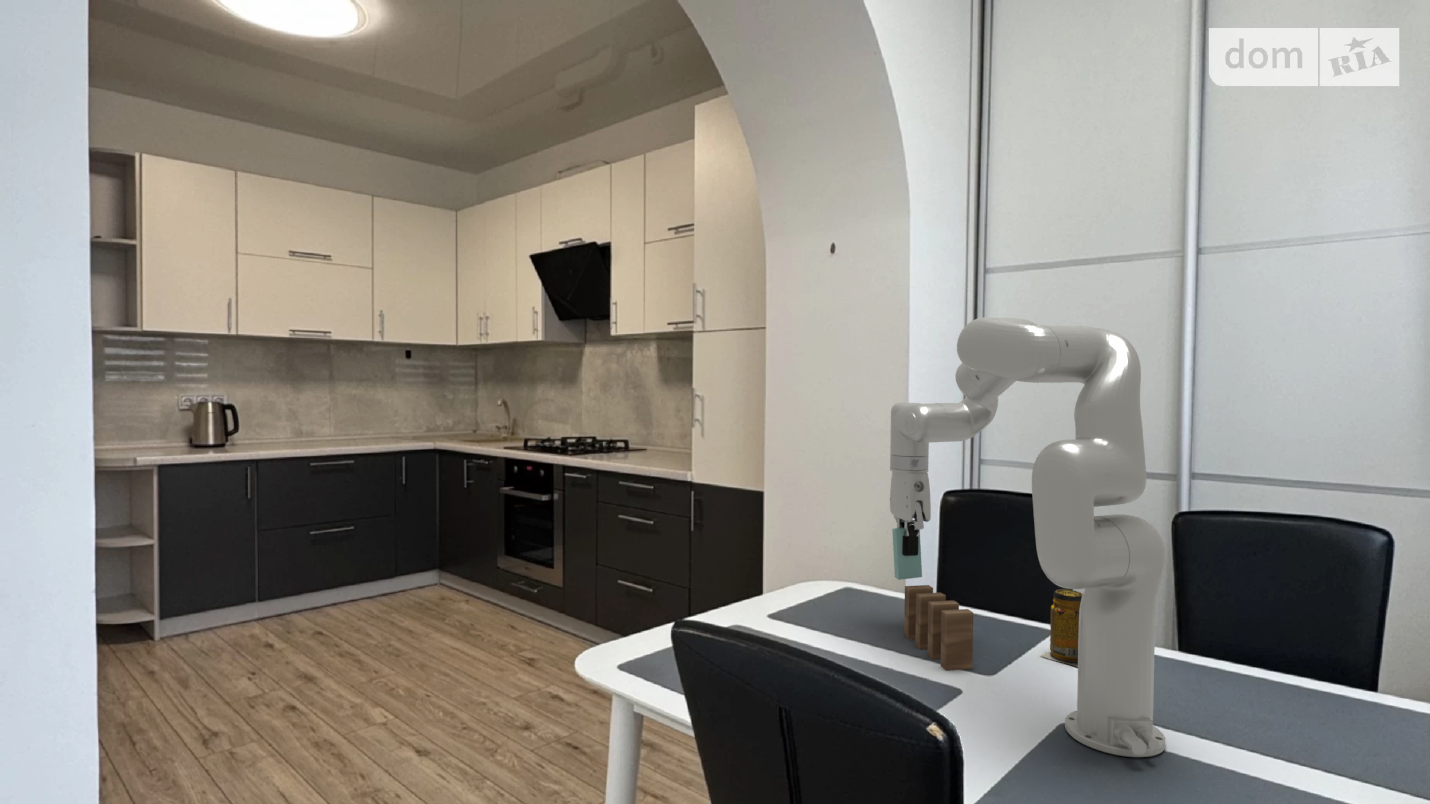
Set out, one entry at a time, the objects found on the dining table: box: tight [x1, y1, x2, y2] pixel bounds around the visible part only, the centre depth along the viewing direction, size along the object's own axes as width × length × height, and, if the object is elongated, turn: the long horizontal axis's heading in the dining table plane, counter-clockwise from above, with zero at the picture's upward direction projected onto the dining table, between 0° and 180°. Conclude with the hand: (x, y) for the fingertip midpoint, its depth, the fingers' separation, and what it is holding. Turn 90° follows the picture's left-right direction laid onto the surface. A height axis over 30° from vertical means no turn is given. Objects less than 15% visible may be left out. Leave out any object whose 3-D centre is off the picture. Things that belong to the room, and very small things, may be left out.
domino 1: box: [892, 527, 923, 581], centre depth 152 cm, size 2×5×10 cm, turn 99°
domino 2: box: [903, 584, 934, 641], centre depth 147 cm, size 2×5×10 cm, turn 100°
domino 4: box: [927, 600, 960, 660], centre depth 137 cm, size 2×5×10 cm, turn 99°
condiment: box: [1040, 588, 1084, 668], centre depth 136 cm, size 7×8×12 cm
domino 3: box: [915, 592, 947, 650], centre depth 142 cm, size 2×5×10 cm, turn 100°
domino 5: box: [940, 608, 974, 671], centre depth 131 cm, size 2×5×10 cm, turn 100°
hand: (907, 553), depth 152 cm, fingers closed on domino 1, 1 cm apart
